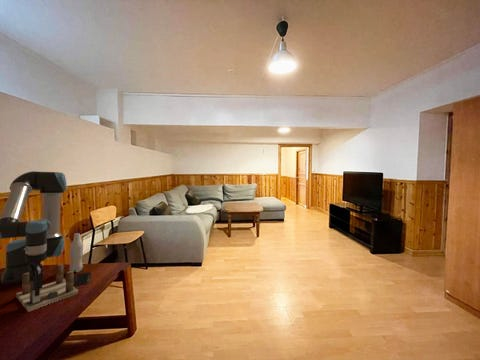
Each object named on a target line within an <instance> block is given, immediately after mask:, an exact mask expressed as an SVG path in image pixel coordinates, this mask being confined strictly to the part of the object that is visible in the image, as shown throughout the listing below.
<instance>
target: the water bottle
mask: <svg viewBox="0 0 480 360" xmlns="http://www.w3.org/2000/svg"><path fill="white" fill-rule="evenodd" d="M83 256H84V242H83V241H82V240H81V234H80V232H75V233H73V240H72V241H71V244H70V245H69V258H70V263H69V267H68V269H69V271H74V272H76V273H80V271H82V269H83V268H84V265H83V263H82V262H83Z"/></svg>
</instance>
